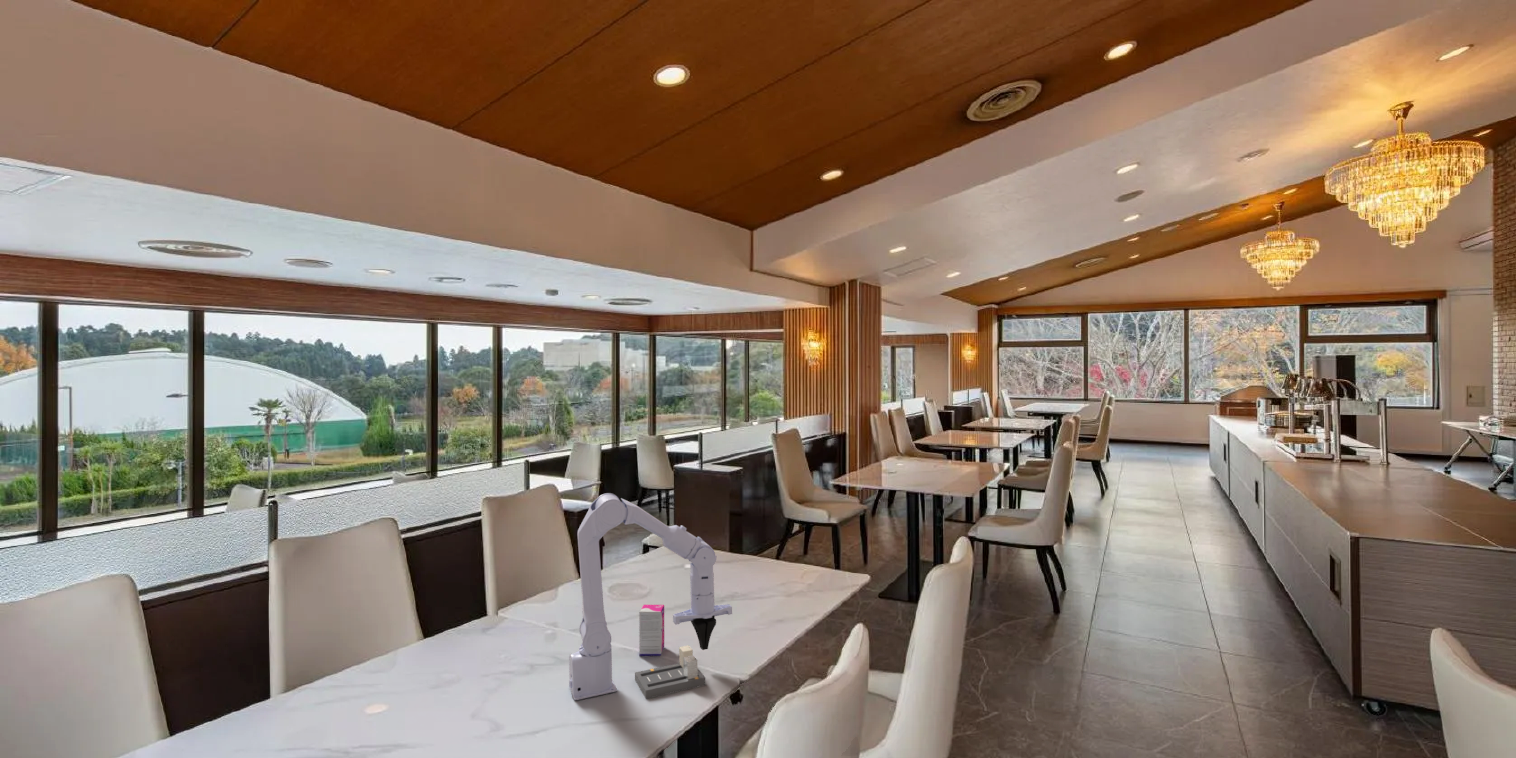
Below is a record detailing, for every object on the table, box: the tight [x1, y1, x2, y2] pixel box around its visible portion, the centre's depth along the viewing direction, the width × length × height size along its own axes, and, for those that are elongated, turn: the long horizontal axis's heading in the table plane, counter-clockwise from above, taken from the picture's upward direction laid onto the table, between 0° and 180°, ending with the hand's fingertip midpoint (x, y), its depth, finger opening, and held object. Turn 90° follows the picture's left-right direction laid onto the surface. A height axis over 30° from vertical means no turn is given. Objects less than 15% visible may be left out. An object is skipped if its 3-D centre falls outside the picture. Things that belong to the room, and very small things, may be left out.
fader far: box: [678, 645, 694, 669], centre depth 157 cm, size 2×3×5 cm
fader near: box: [683, 655, 699, 680], centre depth 151 cm, size 2×3×5 cm
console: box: [634, 663, 707, 700], centre depth 152 cm, size 14×10×2 cm
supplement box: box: [638, 604, 665, 657], centre depth 169 cm, size 6×6×12 cm
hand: (703, 648), depth 158 cm, fingers closed
